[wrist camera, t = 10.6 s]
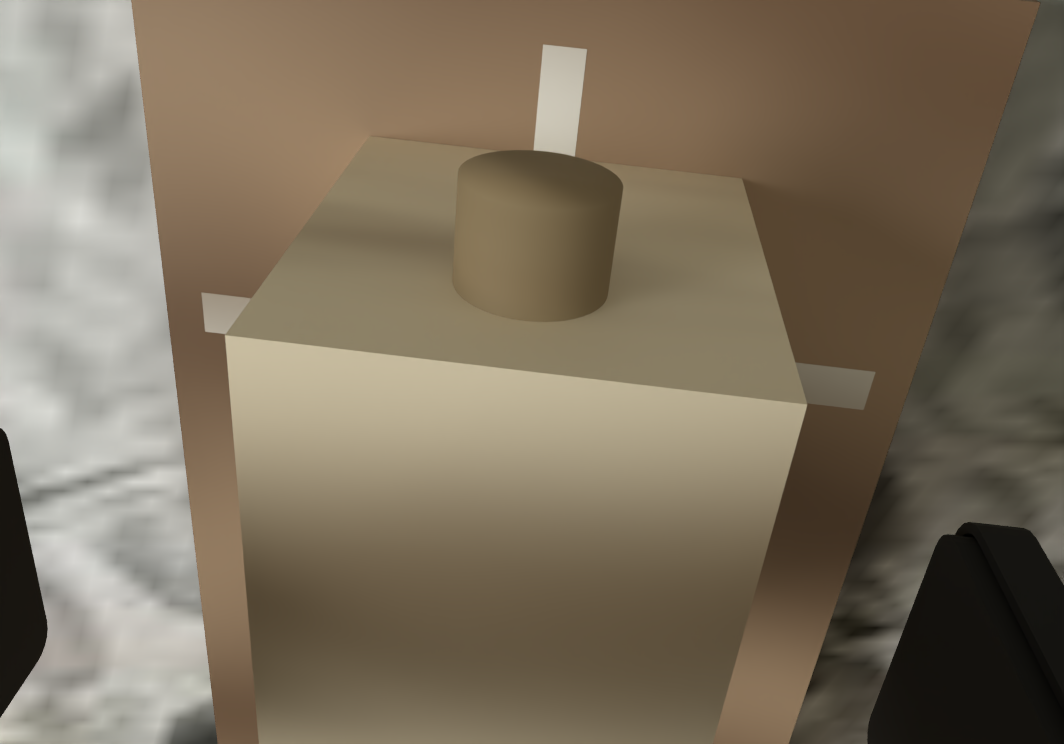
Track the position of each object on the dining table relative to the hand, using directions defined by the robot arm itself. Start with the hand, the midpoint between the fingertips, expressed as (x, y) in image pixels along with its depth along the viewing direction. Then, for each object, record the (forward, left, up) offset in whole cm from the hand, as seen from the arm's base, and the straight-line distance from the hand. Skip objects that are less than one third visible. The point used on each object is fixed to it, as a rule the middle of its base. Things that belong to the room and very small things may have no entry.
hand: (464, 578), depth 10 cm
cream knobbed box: (0, 0, -4) cm, 4 cm away
